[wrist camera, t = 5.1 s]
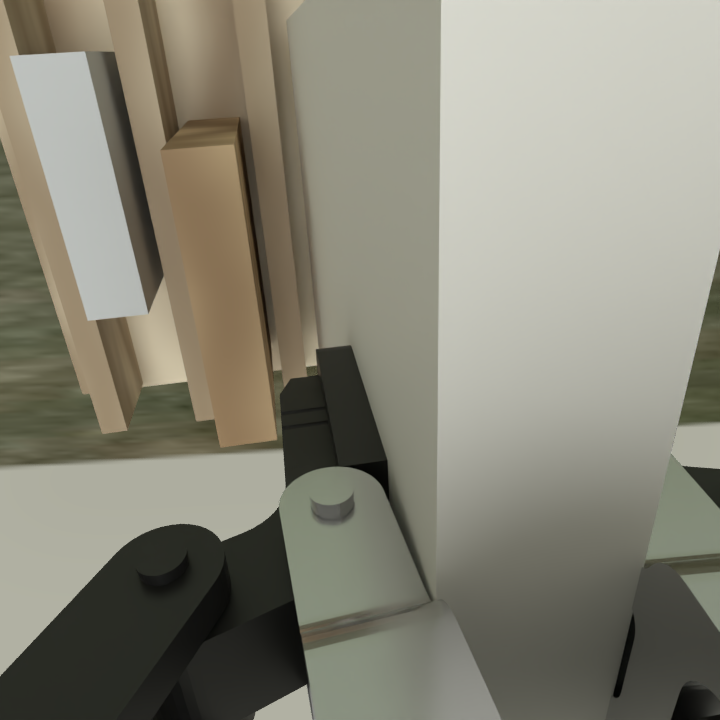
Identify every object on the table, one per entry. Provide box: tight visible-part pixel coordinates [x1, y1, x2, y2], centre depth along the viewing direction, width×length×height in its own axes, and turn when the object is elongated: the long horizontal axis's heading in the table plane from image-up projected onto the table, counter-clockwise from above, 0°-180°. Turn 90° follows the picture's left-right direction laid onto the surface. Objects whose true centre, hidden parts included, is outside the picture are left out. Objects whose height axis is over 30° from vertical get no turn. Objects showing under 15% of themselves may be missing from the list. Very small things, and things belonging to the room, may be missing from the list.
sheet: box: [286, 0, 720, 720], centre depth 14 cm, size 2×13×18 cm, turn 3°
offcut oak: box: [160, 117, 277, 448], centre depth 22 cm, size 2×10×8 cm, turn 3°
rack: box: [0, 0, 319, 434], centre depth 24 cm, size 16×16×5 cm
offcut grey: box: [10, 51, 164, 321], centre depth 21 cm, size 2×8×6 cm, turn 3°
